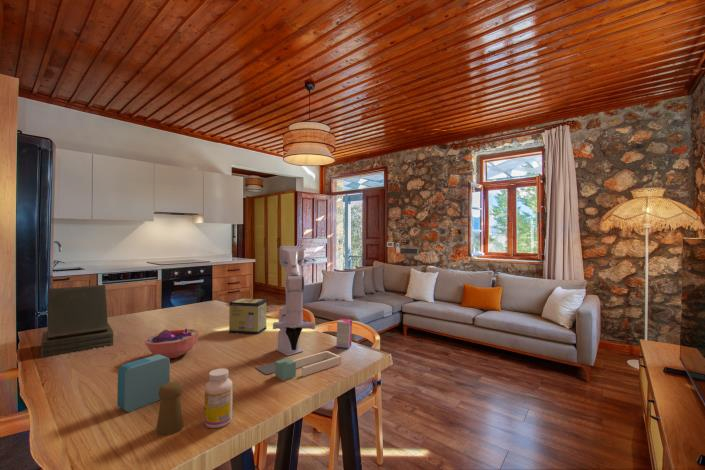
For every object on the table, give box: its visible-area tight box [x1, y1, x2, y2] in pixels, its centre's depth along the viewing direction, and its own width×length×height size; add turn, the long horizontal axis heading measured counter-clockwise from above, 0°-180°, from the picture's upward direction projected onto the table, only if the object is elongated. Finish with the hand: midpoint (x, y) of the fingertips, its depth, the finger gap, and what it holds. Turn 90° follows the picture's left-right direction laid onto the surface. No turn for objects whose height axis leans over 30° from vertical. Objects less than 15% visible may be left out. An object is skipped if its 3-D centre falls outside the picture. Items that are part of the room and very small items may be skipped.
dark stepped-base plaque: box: [40, 284, 114, 359], centre depth 143 cm, size 23×20×25 cm
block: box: [274, 357, 297, 382], centre depth 113 cm, size 5×5×5 cm
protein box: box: [228, 298, 267, 335], centre depth 167 cm, size 10×16×16 cm
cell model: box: [143, 328, 199, 360], centre depth 131 cm, size 17×20×11 cm
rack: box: [292, 350, 342, 377], centre depth 121 cm, size 8×17×3 cm, turn 133°
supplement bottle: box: [204, 367, 233, 429], centre depth 84 cm, size 7×7×13 cm
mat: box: [255, 361, 276, 376], centre depth 119 cm, size 8×8×1 cm
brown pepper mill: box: [155, 381, 184, 437], centre depth 81 cm, size 6×6×11 cm
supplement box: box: [335, 318, 353, 350], centre depth 144 cm, size 6×6×12 cm
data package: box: [116, 355, 171, 413], centre depth 94 cm, size 12×4×12 cm, turn 148°
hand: (294, 349), depth 115 cm, fingers closed
